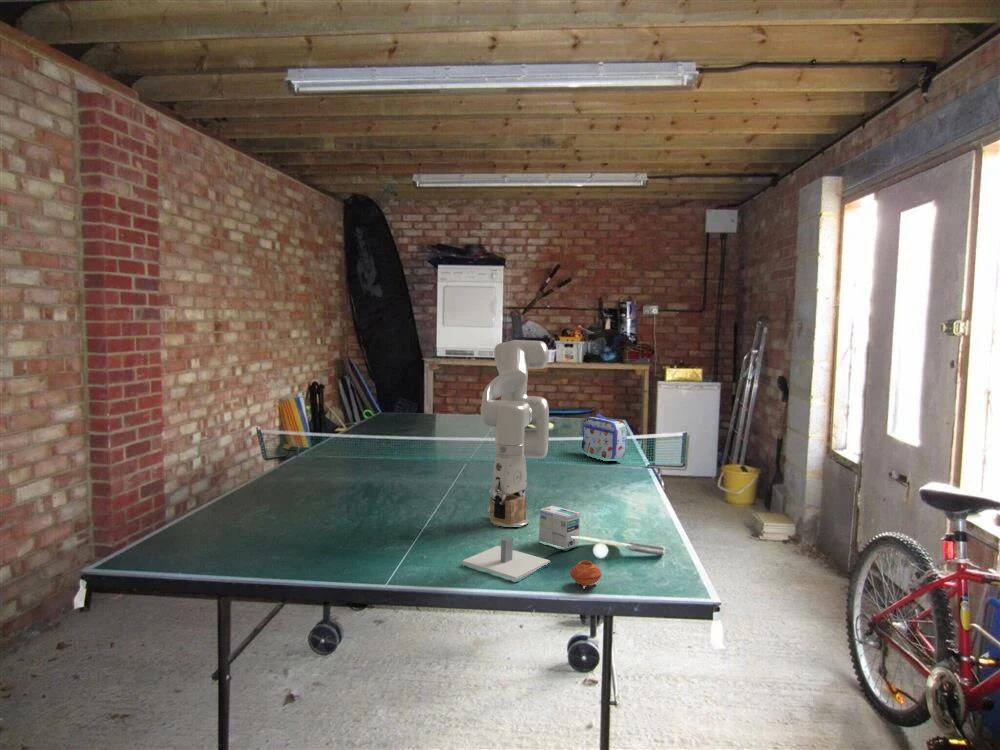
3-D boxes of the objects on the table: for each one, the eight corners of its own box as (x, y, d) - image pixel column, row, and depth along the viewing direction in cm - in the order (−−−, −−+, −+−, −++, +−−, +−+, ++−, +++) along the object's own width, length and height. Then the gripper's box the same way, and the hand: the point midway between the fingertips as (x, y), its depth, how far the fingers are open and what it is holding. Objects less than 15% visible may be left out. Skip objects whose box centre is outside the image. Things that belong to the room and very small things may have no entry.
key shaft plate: (462, 565, 176) (462, 538, 175) (497, 550, 189) (498, 525, 188) (516, 583, 165) (517, 554, 165) (549, 565, 178) (550, 539, 177)
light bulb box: (579, 547, 194) (581, 511, 193) (566, 552, 189) (567, 516, 188) (551, 538, 201) (552, 504, 200) (537, 543, 196) (538, 508, 195)
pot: (603, 592, 160) (598, 566, 160) (572, 596, 162) (567, 570, 161) (604, 579, 168) (598, 554, 168) (574, 583, 169) (569, 558, 169)
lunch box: (577, 455, 335) (578, 412, 333) (592, 453, 340) (594, 412, 339) (611, 465, 311) (613, 420, 310) (628, 464, 317) (630, 419, 315)
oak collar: (510, 525, 171) (511, 502, 170) (489, 520, 175) (490, 498, 174) (525, 519, 176) (526, 497, 176) (505, 514, 180) (505, 493, 180)
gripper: (501, 456, 165) (499, 524, 166) (539, 448, 179) (537, 511, 180) (478, 452, 170) (476, 519, 171) (517, 444, 184) (515, 506, 185)
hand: (507, 514), depth 175 cm, fingers closed on oak collar, 7 cm apart
